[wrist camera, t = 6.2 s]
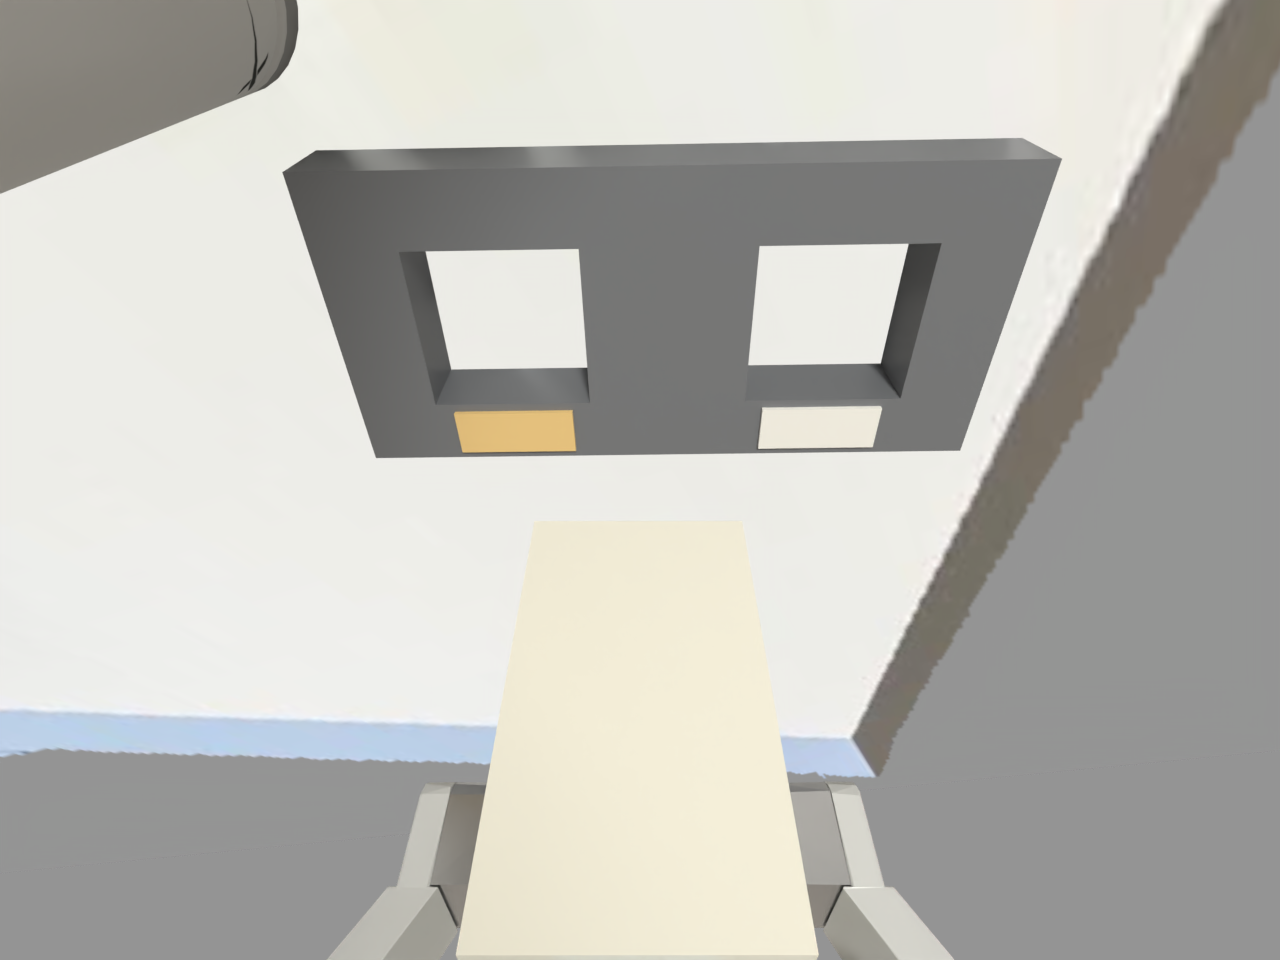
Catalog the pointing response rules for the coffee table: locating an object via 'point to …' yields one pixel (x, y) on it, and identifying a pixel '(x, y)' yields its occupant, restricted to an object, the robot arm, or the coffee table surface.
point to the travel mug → (125, 71)
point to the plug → (637, 760)
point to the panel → (671, 289)
